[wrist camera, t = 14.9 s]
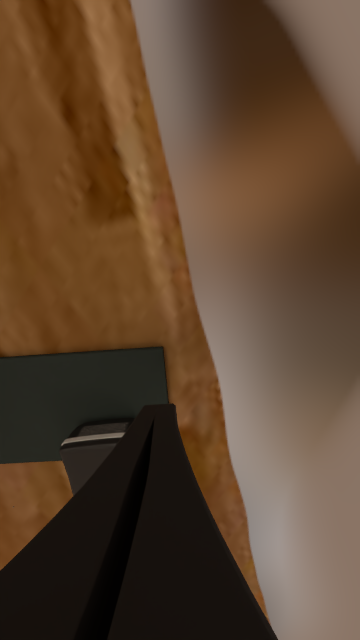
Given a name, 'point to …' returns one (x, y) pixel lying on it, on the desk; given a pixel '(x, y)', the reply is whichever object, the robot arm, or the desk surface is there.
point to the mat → (72, 396)
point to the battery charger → (90, 448)
